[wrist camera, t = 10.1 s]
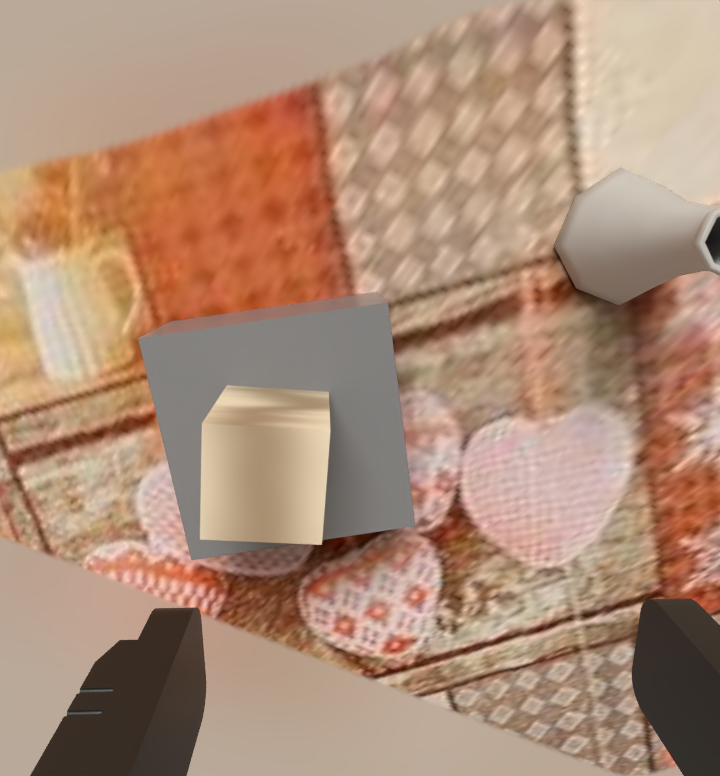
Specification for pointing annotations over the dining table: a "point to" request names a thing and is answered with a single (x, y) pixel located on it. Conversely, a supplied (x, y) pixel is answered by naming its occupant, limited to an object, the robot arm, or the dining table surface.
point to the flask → (635, 237)
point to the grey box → (297, 372)
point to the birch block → (265, 466)
